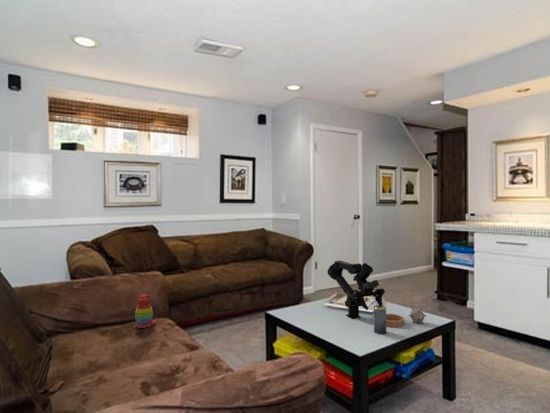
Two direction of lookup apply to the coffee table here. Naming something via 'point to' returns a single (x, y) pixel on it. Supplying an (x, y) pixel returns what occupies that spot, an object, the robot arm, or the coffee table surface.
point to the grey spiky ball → (417, 315)
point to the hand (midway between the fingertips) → (374, 308)
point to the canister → (380, 319)
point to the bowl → (394, 320)
